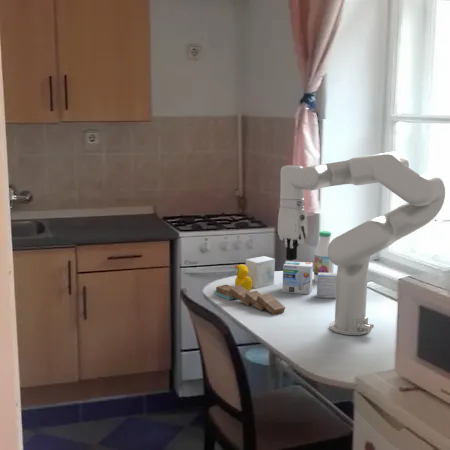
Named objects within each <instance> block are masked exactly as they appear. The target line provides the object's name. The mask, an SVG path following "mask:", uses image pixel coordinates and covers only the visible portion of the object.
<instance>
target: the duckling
mask: <svg viewBox="0 0 450 450" xmlns="http://www.w3.org/2000/svg"><path fill="white" fill-rule="evenodd" d="M234 270H235V271H234V272H235V275H236V278H235V279H234V280H235V281H234V287H235V286H238V285H240V286H242V287H243V288H245V289H246V290H248V291H249V292H251V290H252V280H251V278H250V277H247V275H248V268H247V266H245V264H243V263H242V264H241V263H240V264H235V266H234Z"/></svg>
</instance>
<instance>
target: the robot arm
mask: <svg viewBox="0 0 450 450" xmlns="http://www.w3.org/2000/svg"><path fill="white" fill-rule="evenodd" d="M378 183H379V184H381V185H382V186H384V187H385V188H386V189H387V190H389V191H390V192H392V193H393V194H395V195H396V196H398V197H399V198H400V199H402V200H403V201H404V202H405V203H404V204H402V205H400V206H398V207H397V208H394V209H393V210H391V211H389V212H386V213H384V214H383V215H380V216H376V217H374V218H371V219H369V220H366V221H365V222H362V223H360V224H359V225H357V226H355V227H353V228H352V229H350V230H347V231H346V232H344V233H341V234H340V235H338V236H336V237H334V238H333V239H332V240H330V241H331V242H330V244H329V246H328V257H329V259H330V261H331V262H332V263H333V264H334V265H335V266H337V270H336V273H337V280H336V298H335V303H334V304H335V305H334V306H335V307H334V320H333V321H331V322H330V323H329V329H330V330H331V331H332V332H334V333H337V334H340V335H347V336H362V335H365V334H368V333H370V332H371V331H372V329H374V326H375V325H374V324H373V323H369V317H366V314H367V313H366V312H367V311H366V310H367V293H368V279H369V276H368V275H369V268H370V267H369V265H370V259H371V256H374V255H375V254H377V253H380V252H381V251H383V250H385V249H387V248H388V247H390V246H392V245H393V244H394V243H395V242H397V241H399V240H400V239H402V238H405V237H406V236H408V235H410V234H412V233H413V232H415V231H417V230H419V229H421V228H423V227H424V226H426V225H428V224H429V223H430V222H431V221H432V220H434V219H435V218H436V216H437V215H438V214H439V212H440V211H441V210H442V207H443V206H444V203H445V200H446V199H445V198H446V188H445V184H444V181H443V180H442V178H440V176H438V175H436V174H434V173H423V174H419V173H418V172H416V171H414V169H412V168H410V164H409V159H408V158H407V156H405V154H404V153H401V152H400V151H390V152H384V153H378V154H372V155H364V156H357V157H356V156H355V157H352V158H350V159H347V160H341V161H336V162H329V163H321V164H315V165H311V166H306V167H305V166H301V165H297V164H296V165H295V164H294V165H292V164H291V165H283V166H282V167H281V169H280V195H279V197H280V202H279V203H280V207H279V211H278V216H277V234H278V236H279V238H278V239H279V240H281V241H283V243H284V247H285V249H286V253H285V254H286V256H285V257H286V261H293V260H297V257H298V248H299V245H301V244H305V239H307V238H308V235H309V232H308V231H309V229H308V227H309V226H308V214H307V211H306V208H305V204H306V203H305V191H309V192H310V191H315V190H316V191H317V190H319V189H323V188H324V189H325V188H328V187H333V186H334V187H335V186H343V185H353V186H362V185H363V186H364V185H371V184H378Z"/></svg>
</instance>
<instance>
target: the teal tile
mask: <svg viewBox="0 0 450 450" xmlns="http://www.w3.org/2000/svg"><path fill="white" fill-rule="evenodd" d="M213 293H214V295H216V296H219V297H221V298H225V299H227V300H234V299H237V298H236V297H234V298H232V297H229V296H226V295H223V294H220V293H217V292H216V290H214V291H213Z"/></svg>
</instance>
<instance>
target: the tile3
mask: <svg viewBox="0 0 450 450" xmlns="http://www.w3.org/2000/svg"><path fill="white" fill-rule="evenodd" d="M232 287H233V288H231V289H230V292H229V293H230V294H231V295H233V296H234V297H236V298H235V299H237V300H238V301H239V302H241V303H243V304H244V305H245V306H247V307H249V306H252V305H253V304H252V303H251V302H249V301H248V300H247V299H245V295H246V293H248V292H250V291H248V290H246V289H245V288H243V287H242V286H240V285H238V286H235V285H234V286H232Z"/></svg>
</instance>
